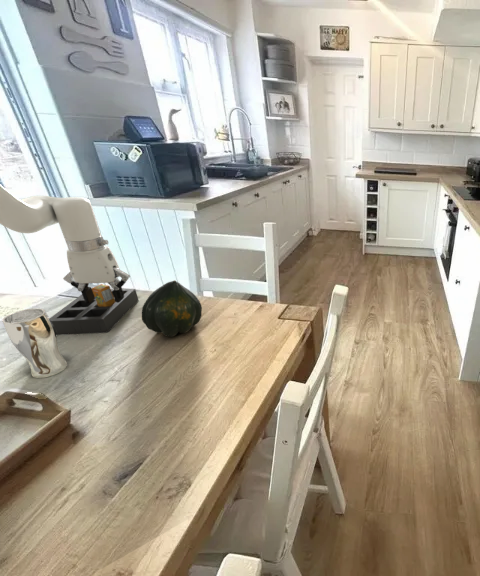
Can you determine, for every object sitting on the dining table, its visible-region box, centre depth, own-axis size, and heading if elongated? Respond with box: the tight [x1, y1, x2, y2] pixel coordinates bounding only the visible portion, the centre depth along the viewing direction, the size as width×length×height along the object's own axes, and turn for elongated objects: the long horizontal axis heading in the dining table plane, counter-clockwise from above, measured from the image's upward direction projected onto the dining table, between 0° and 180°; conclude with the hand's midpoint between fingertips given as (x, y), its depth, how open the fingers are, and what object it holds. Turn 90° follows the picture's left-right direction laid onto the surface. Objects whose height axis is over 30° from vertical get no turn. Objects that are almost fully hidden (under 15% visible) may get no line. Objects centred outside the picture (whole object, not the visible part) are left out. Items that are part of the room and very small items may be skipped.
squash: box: [141, 280, 203, 338], centre depth 93 cm, size 14×15×15 cm
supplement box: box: [91, 283, 115, 307], centre depth 97 cm, size 3×3×10 cm
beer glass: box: [2, 307, 68, 379], centre depth 74 cm, size 7×7×15 cm
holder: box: [49, 288, 140, 336], centre depth 97 cm, size 13×19×4 cm
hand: (105, 300), depth 97 cm, fingers open, 6 cm apart
